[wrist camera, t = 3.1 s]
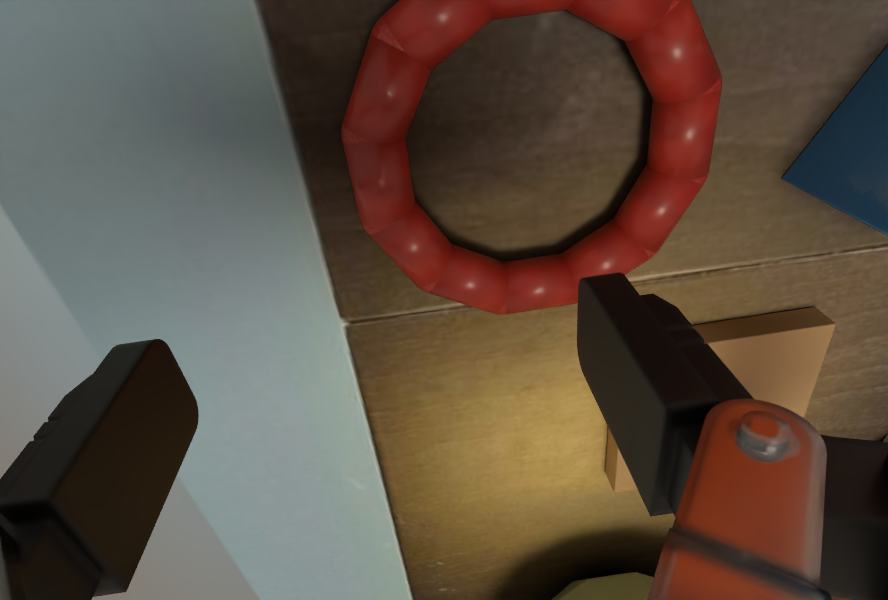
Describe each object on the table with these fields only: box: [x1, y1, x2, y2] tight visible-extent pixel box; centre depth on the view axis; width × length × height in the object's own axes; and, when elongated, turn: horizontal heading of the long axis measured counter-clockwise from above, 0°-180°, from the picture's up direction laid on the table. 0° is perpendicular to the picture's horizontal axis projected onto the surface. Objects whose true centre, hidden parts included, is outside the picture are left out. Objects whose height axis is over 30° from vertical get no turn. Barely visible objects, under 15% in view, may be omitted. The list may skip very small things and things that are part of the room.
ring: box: [341, 0, 722, 315], centre depth 19 cm, size 13×13×2 cm
